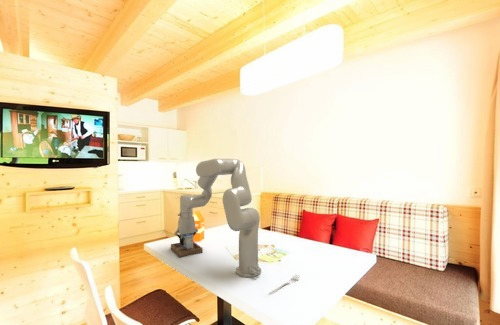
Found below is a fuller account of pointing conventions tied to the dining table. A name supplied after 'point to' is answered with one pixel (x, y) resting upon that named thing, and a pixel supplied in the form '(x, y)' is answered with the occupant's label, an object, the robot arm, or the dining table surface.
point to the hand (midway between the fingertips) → (186, 243)
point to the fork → (284, 284)
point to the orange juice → (199, 227)
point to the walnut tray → (186, 250)
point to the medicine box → (187, 241)
